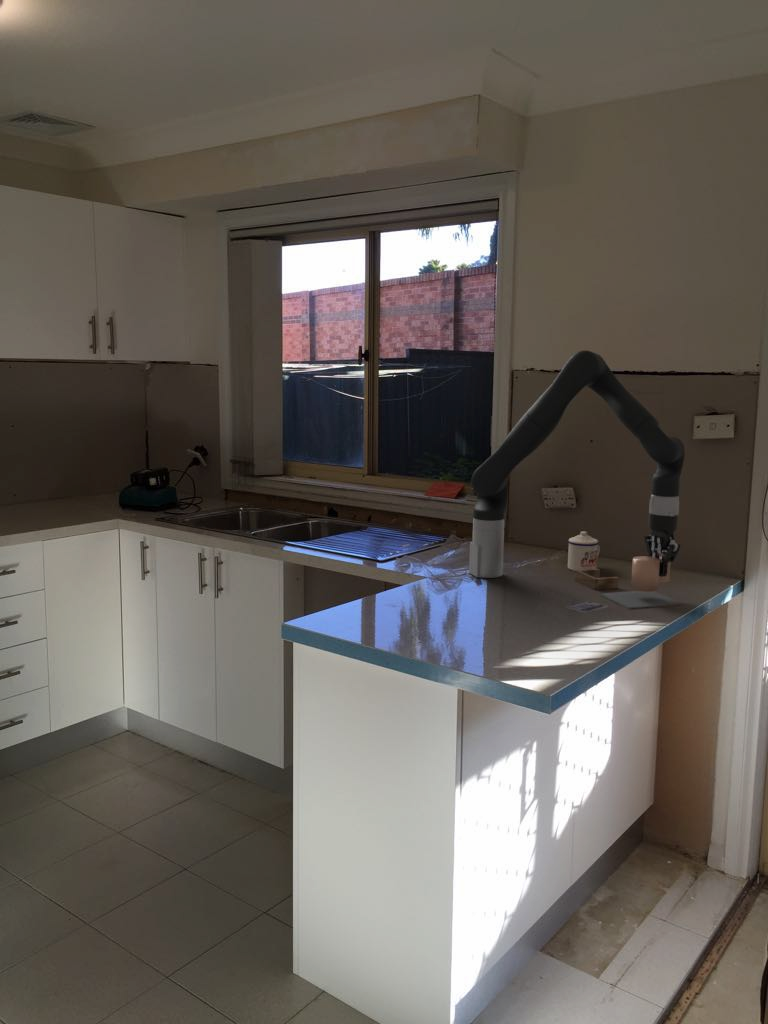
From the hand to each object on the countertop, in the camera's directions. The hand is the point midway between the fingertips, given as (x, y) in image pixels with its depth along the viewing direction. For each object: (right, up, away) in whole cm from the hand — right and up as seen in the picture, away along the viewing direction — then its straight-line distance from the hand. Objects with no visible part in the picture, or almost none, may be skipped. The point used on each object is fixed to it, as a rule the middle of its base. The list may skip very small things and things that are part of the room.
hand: (659, 574), depth 232 cm
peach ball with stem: (-3, -4, 0) cm, 4 cm away
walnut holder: (-13, -4, +16) cm, 21 cm away
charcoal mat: (-5, -7, -1) cm, 9 cm away
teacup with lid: (-12, -1, +35) cm, 37 cm away
